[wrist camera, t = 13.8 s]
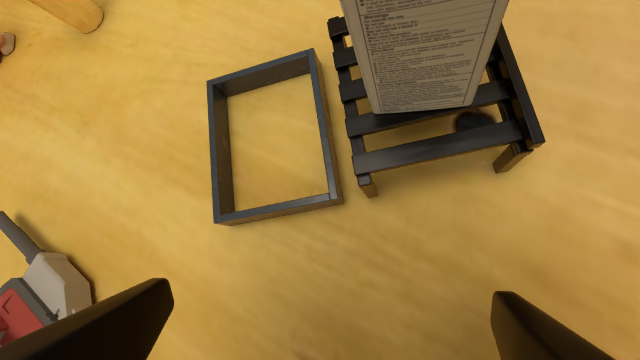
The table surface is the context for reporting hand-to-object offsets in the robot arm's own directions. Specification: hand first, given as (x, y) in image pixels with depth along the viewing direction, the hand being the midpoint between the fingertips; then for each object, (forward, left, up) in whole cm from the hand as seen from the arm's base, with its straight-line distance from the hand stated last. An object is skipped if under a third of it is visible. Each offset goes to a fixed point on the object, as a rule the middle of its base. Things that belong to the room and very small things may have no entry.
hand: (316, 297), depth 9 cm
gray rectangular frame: (+11, -1, -12) cm, 16 cm away
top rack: (+6, -10, -12) cm, 16 cm away
